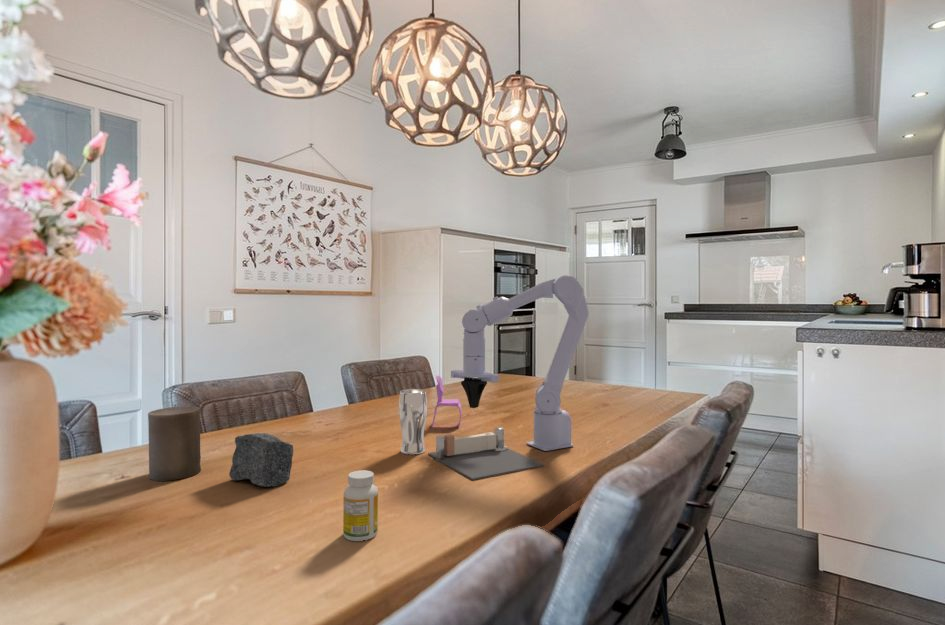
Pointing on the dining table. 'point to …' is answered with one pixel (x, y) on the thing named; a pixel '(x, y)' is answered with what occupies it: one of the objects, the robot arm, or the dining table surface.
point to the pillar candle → (174, 443)
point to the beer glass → (413, 420)
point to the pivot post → (499, 439)
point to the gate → (469, 443)
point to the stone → (261, 459)
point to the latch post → (440, 448)
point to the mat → (488, 463)
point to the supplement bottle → (360, 507)
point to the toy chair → (445, 401)
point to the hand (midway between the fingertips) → (474, 407)
